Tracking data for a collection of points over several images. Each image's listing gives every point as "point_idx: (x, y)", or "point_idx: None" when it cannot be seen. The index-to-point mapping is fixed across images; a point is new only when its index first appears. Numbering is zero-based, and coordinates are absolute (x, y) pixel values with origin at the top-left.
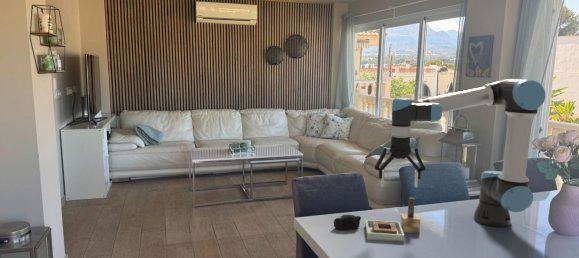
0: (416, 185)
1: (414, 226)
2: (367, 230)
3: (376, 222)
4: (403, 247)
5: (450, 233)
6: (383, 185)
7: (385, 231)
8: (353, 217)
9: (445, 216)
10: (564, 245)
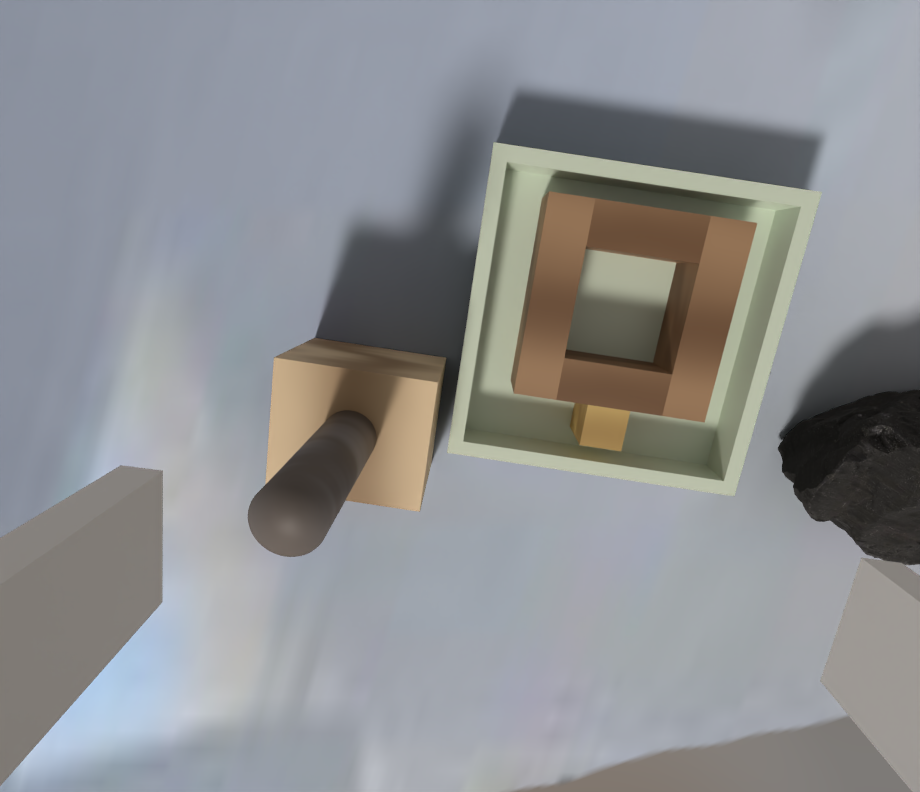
0: (113, 490)
1: (343, 353)
2: (802, 252)
3: (675, 403)
4: (529, 38)
5: (72, 334)
6: (891, 578)
7: (651, 209)
8: (904, 450)
9: None
10: None
